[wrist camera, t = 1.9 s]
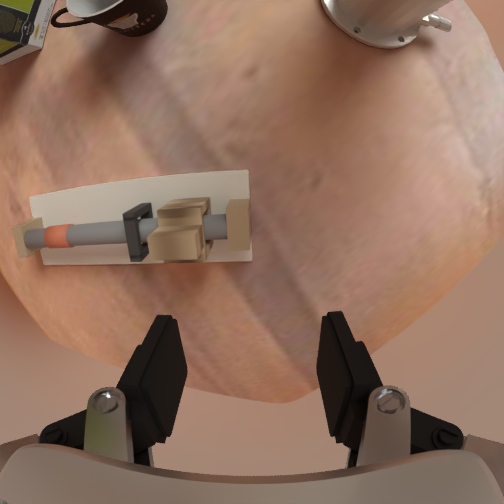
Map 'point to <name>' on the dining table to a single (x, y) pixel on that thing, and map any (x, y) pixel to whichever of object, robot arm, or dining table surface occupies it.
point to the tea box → (22, 27)
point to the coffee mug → (116, 14)
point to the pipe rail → (127, 197)
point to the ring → (136, 231)
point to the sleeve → (181, 232)
